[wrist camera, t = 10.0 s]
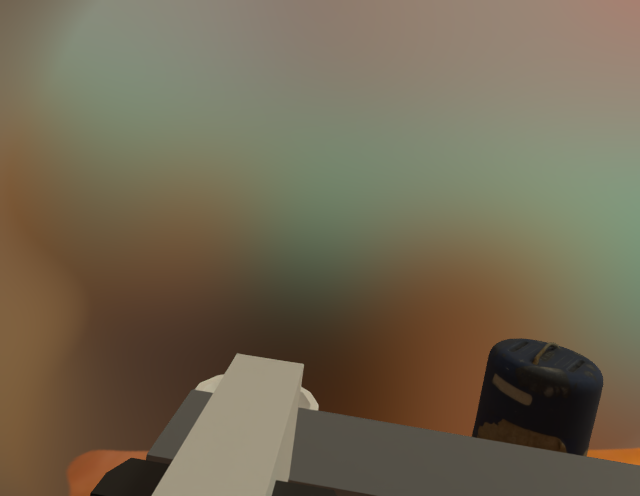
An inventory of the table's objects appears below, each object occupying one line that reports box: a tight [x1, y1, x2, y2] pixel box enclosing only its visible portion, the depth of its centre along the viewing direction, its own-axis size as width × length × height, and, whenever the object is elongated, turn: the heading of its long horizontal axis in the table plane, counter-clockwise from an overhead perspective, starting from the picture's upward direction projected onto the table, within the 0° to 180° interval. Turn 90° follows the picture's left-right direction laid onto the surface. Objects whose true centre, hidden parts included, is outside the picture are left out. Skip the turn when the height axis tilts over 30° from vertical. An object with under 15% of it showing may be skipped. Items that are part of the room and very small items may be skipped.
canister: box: [472, 339, 603, 456], centre depth 52 cm, size 10×10×18 cm
